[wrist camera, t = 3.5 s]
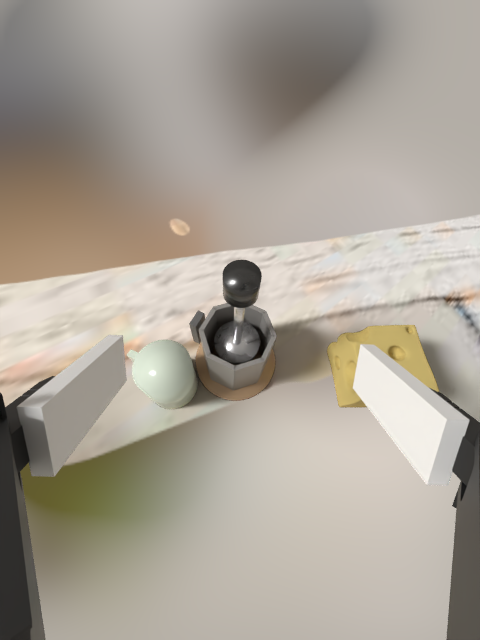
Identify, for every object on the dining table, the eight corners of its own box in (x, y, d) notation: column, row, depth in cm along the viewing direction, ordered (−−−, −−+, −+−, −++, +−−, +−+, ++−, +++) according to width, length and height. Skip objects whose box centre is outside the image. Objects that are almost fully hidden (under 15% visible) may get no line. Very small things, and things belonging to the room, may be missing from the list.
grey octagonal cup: (217, 314, 51) (215, 277, 41) (286, 345, 48) (300, 314, 39) (179, 376, 45) (165, 351, 35) (254, 415, 43) (262, 400, 33)
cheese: (324, 349, 48) (346, 322, 39) (385, 348, 49) (419, 321, 40) (336, 411, 43) (364, 397, 35) (403, 409, 44) (447, 394, 35)
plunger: (227, 316, 42) (227, 239, 28) (266, 334, 41) (286, 263, 27) (206, 352, 39) (194, 286, 25) (247, 372, 38) (259, 315, 24)
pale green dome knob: (155, 348, 47) (141, 324, 39) (206, 374, 45) (201, 354, 37) (127, 388, 44) (105, 371, 36) (181, 418, 42) (170, 406, 34)
